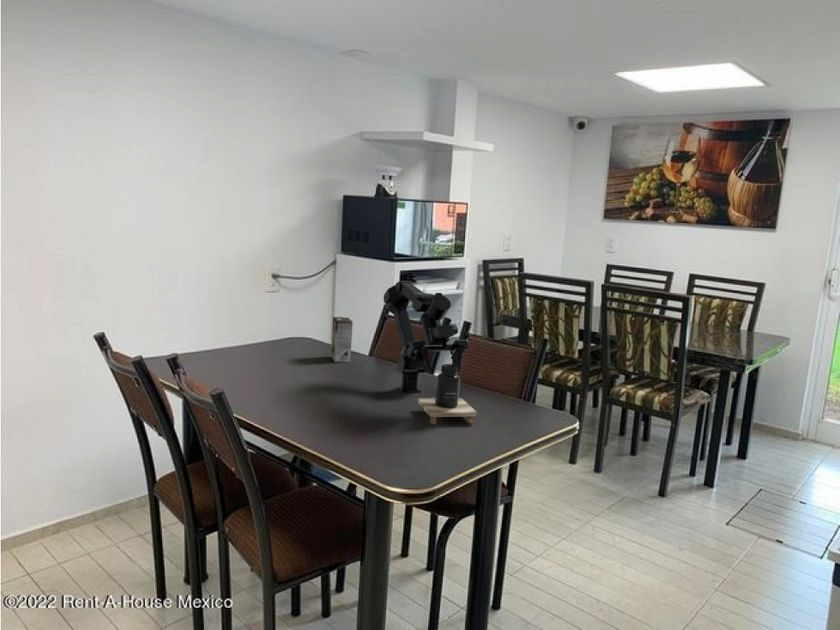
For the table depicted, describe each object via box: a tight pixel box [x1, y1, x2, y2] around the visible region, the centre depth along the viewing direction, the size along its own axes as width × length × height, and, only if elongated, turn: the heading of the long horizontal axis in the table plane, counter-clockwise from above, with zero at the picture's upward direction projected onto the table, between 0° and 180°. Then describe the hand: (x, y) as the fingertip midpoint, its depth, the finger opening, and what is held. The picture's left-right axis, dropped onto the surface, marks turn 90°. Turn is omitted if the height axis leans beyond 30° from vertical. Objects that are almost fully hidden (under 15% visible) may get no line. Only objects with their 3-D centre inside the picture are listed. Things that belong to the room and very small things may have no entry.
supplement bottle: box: [434, 363, 461, 408], centre depth 188 cm, size 7×7×12 cm
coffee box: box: [331, 316, 354, 363], centre depth 250 cm, size 9×6×16 cm
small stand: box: [417, 397, 478, 425], centre depth 190 cm, size 14×14×4 cm
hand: (445, 372), depth 190 cm, fingers open, 9 cm apart
